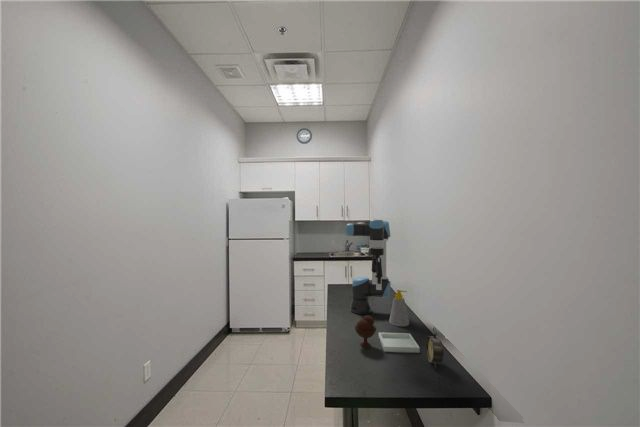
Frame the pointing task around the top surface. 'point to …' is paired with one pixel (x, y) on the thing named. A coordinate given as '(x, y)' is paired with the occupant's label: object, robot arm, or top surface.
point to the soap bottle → (399, 311)
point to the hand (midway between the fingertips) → (376, 286)
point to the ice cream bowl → (365, 330)
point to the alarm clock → (434, 349)
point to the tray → (398, 342)
